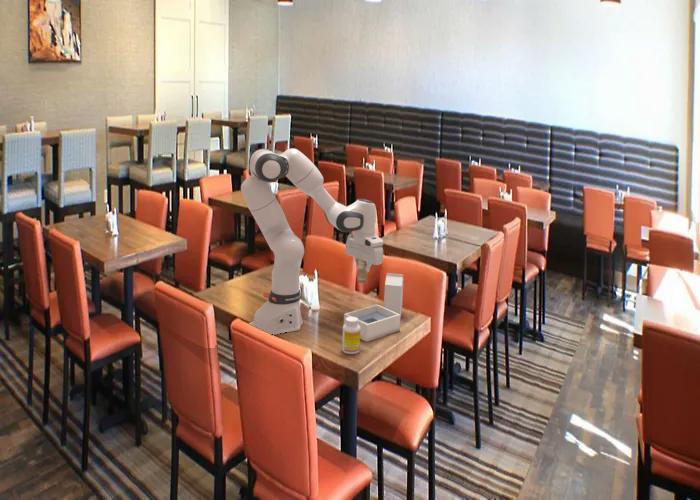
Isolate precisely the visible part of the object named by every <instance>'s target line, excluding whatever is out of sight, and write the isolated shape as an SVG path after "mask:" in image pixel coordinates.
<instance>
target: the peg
mask: <svg viewBox="0 0 700 500" xmlns="http://www.w3.org/2000/svg"><path fill="white" fill-rule="evenodd" d="M366 266H367V264H366V261H363V260H362V259H361V255H360V254H359V260H358V268H357V282H358V283H360V284H362V283H363V284H365V283H367V282H368V272H366V271H364V270H365V269H364V267H366Z"/></svg>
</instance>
